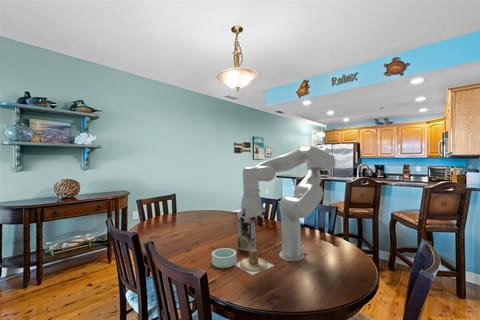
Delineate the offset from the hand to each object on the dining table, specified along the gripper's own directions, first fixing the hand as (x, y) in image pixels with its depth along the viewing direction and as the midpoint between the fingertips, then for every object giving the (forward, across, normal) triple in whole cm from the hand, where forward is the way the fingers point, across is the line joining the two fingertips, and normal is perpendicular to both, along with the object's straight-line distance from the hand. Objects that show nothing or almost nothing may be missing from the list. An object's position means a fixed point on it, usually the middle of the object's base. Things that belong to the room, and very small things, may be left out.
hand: (252, 228), depth 115 cm
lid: (+18, 0, 0) cm, 18 cm away
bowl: (+18, +9, -12) cm, 24 cm away
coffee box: (+19, -11, -18) cm, 28 cm away
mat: (+18, 0, 0) cm, 18 cm away
